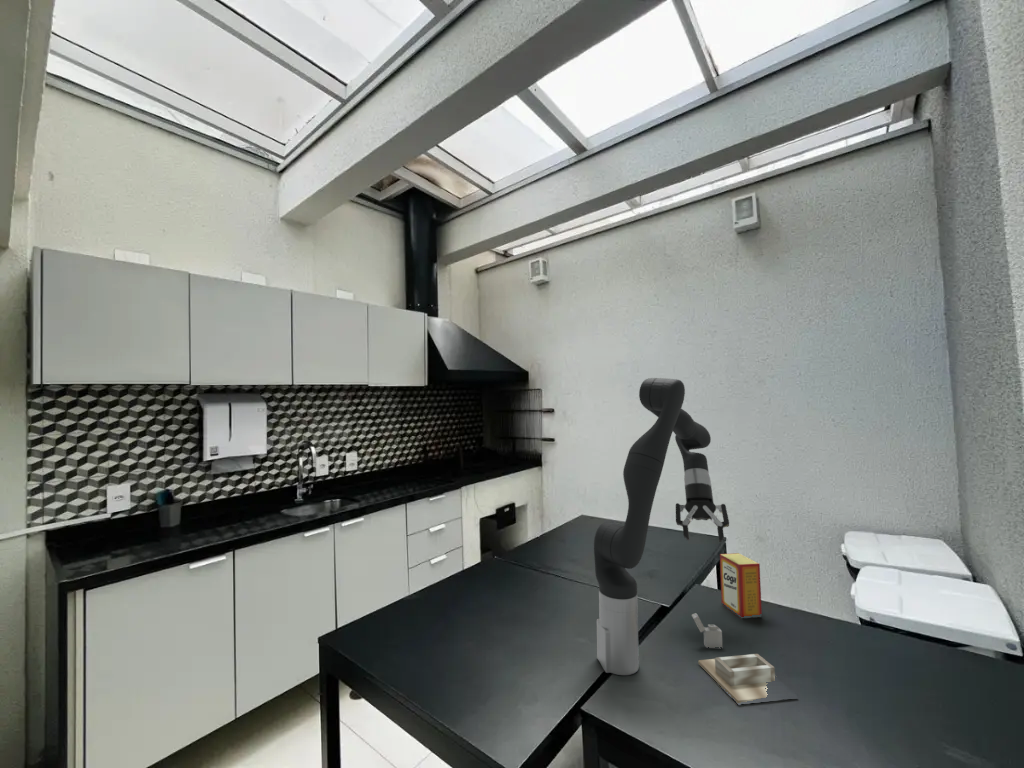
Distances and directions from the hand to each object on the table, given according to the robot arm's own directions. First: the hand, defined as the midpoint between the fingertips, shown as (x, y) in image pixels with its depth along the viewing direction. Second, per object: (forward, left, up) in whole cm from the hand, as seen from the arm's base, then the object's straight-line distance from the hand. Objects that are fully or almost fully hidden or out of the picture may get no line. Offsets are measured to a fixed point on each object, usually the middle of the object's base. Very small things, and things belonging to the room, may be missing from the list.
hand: (704, 540), depth 117 cm
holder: (-5, -22, -24) cm, 33 cm away
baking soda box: (+17, +8, -25) cm, 31 cm away
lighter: (-5, -8, -25) cm, 26 cm away
